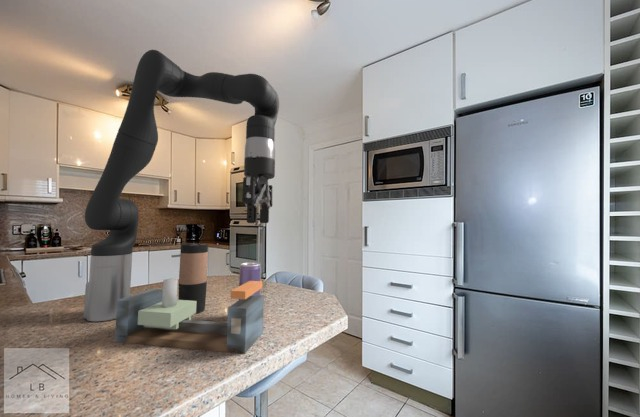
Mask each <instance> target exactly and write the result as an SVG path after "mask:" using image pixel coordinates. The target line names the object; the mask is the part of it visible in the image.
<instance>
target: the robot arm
mask: <svg viewBox="0 0 640 417" xmlns="http://www.w3.org/2000/svg"><path fill="white" fill-rule="evenodd" d="M131 87H132V88H131V92H130V94H129V95H130V96H129V99H128V103H127V107H126V109H125V112H124V116H123V119H122V120H121V122H120V125H119V128H118V130H117V133H116V136H115V139H114V141H113V144H112V148H111V150H110V153H109V157H108V159H107V162H106V164H105V165H104V166H105V167H104V169H103V172H102V173H101V176H100V178H99V180H98V182H97V183H96V186H95V188H94V190H93V192H92V194H91V195H90V198H89V200H88V202H87V204H86V208H85V210H84V221H85V225H86V226H87V227H88V228H89V229H91V230H93V231H109V232H108V236H107V237H105V238H104V239H102V240H101V241H98V242H96V243H94V244H93V245H92V246H91V248H90V259H89V260H90V262H89V275H88V276H89V279H88V282H86V283H85V291H84V306H83V307H84V308H83V319H86V321H88V322H105V321H112V320H116V313H117V300H119V299H123V298H126V297H129V296H131V287H132V286H131V285H132V284H131V281H132V266H133V265H132V264H133V263H132V262H133V250H134V246H135V244H136V242H137V236H138V226H139V219H140V217H139V214H140V213H139V212H140V211H139V208H138V205H137V204H136V203H135V201H133V200H131V199H127V198H120V197H121V194H122V192H123V190H124V188H125V187H126V185H127V184H128V183H129V182H130V181H131V180H132V179H133V178H134V177H135V176H136V175H138V174H139V173H140V172H142V170H143V169H145V168H146V167H147V166H148V165H149V164H150V162H151V161H152V159H153V156H154V153H155V151H156V148H157V145H158V143H159V142H158V141H159V132H158V127H157V121H156V116H155V109H154V108H155V101H156V97H157V93H158V92H159V93H161V94H163V95H164V96H167V97H171V98H199V99H207V100H213V101H217V102H221V103H225V104H232V105H240V104H242V103H243V102H247V103H249V104H250V105H251V107H253V108H254V115H250V116H249V117H248V118H247V121H246V128H245V130H246V131H245V134H246V135H245V145H244V158H243V159H244V164H243V165H244V166H243V176H244V177H243V178H242V179H243V180H242V196H241V198H242V199H241V201H242V203H243V204H244V205H245V207H246V223H248V224H257V222H258V205H259V209H260V210H259V223H261V224H268V223H269V222H270V209H271V208H272V207H273V185H272V184H270V185H269V180H271V179H274V178H275V175H276V146H275V134H276V132H275V130H276V128H275V127H276V126H275V125H276V122H277V119H278V115H279V111H280V110H279V109H280V99H279V94H278V93H277V91H276V89H275V88H274V87H273V86H272V85H271V84H270V83H269V81H268V80H267V79H266V78H265V77H264V76H262V75H260V74H256V73H244V74H236V75H233V74H229V73H224V72H217V71H215V72H214V71H211V72H206V73H204V74H202V75H194V74H191V73H189V72H186V71H184V70H183V69H182V68H181V67H180V66H178V65H177V63H175V62H174V61H173V60H171V59H170V58H169V57H167V56H166V55H165V54H163V53H162V52H161V51H159V50H157V49H149V50H147V51H146V52H145V53H144V54H143V55H142V56H141V58H140V59H139V61H138V63H137V67H136V70H135V74H134V78H133V82H132V86H131Z"/></svg>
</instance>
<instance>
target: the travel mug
mask: <svg viewBox="0 0 640 417" xmlns="http://www.w3.org/2000/svg"><path fill="white" fill-rule="evenodd" d="M208 253H209V244H208V243H206V244H201V243H198V242H196V243H195V242H193V243H191V242H187V243H181V244H180V253H179V255H180V256H179V270H178V273H179V274H178V300H190V301H197V303H196V313H195V314H194V315H196V314H198V315H199V314H200V313H203V312H204V311H205V309H206V297H207V285H208V284H207V283H208V256H209V254H208Z"/></svg>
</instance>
